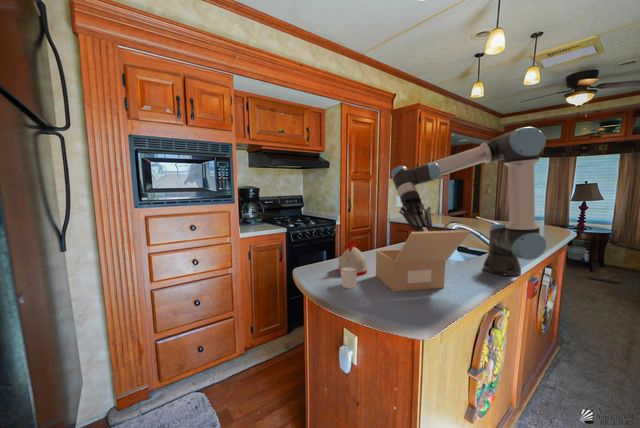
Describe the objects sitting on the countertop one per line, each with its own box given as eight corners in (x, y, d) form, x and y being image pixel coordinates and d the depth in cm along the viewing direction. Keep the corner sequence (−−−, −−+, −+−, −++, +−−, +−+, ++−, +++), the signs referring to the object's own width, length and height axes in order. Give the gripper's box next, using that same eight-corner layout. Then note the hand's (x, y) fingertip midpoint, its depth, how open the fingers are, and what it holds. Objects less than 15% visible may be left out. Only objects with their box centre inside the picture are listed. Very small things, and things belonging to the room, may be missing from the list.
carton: (375, 276, 121) (376, 250, 120) (420, 273, 125) (421, 248, 123) (393, 291, 103) (394, 261, 102) (444, 288, 107) (445, 259, 106)
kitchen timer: (332, 272, 126) (333, 241, 125) (346, 265, 138) (346, 236, 136) (359, 278, 119) (360, 245, 117) (371, 270, 130) (372, 240, 128)
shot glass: (354, 289, 105) (355, 272, 104) (338, 287, 107) (338, 270, 107) (358, 283, 111) (358, 267, 111) (342, 281, 114) (343, 266, 113)
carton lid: (411, 231, 89) (412, 233, 88) (469, 230, 92) (470, 231, 92) (394, 261, 102) (394, 262, 101) (446, 258, 105) (446, 260, 105)
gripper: (419, 201, 115) (440, 248, 100) (391, 202, 113) (408, 249, 98) (427, 189, 109) (450, 237, 95) (397, 189, 107) (417, 238, 92)
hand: (429, 244), depth 96 cm, fingers closed
